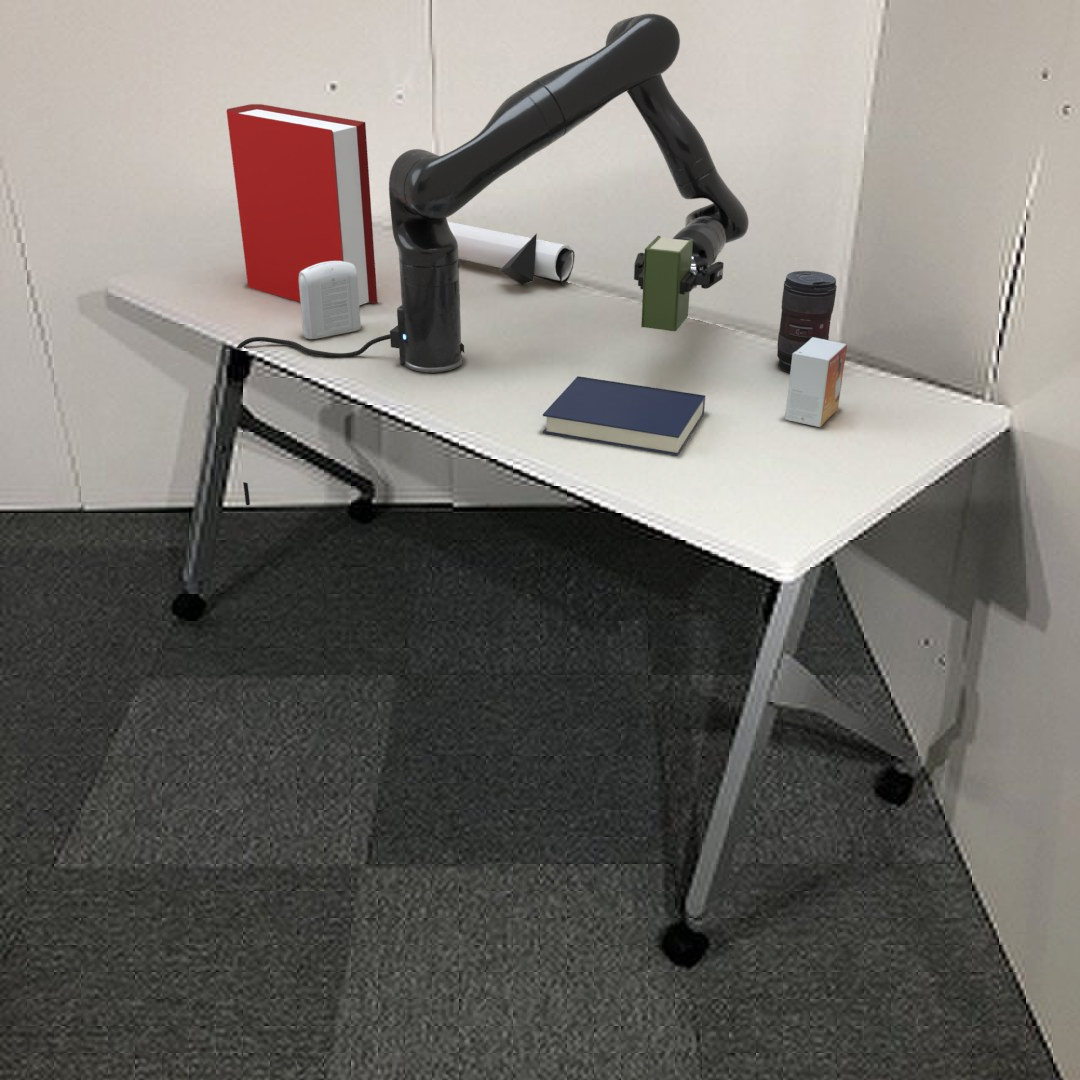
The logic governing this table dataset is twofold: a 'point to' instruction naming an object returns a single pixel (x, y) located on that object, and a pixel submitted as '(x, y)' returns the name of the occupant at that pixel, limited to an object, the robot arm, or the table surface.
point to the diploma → (514, 254)
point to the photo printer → (329, 299)
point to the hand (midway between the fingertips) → (662, 285)
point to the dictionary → (665, 283)
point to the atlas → (625, 415)
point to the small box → (815, 381)
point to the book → (301, 196)
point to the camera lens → (804, 312)
